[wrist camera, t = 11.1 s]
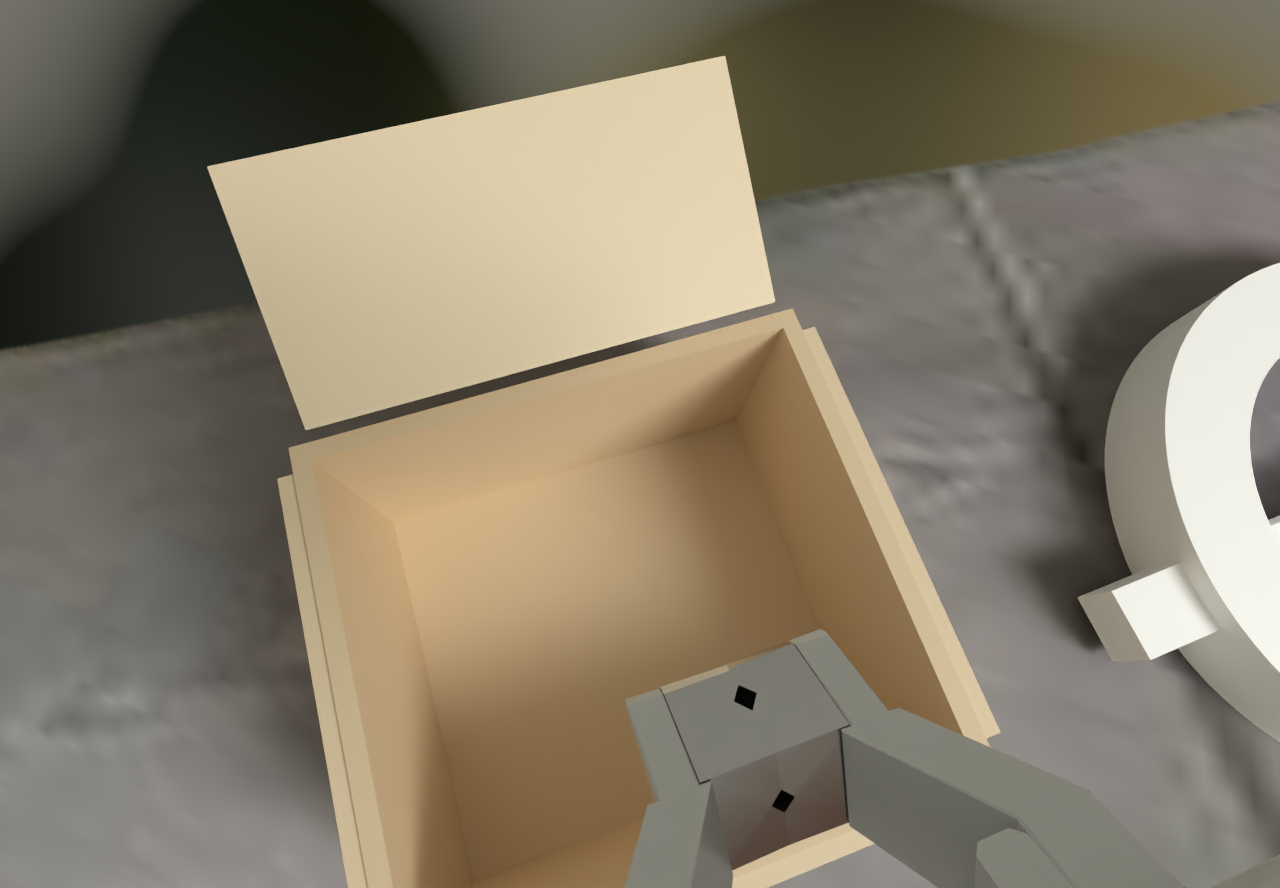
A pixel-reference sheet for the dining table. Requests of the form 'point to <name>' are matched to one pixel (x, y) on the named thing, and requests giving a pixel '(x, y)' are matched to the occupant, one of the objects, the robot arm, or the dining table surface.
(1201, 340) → the ring with crossbar
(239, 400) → the dining table surface
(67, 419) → the dining table surface
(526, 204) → the carton flap
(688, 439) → the carton
